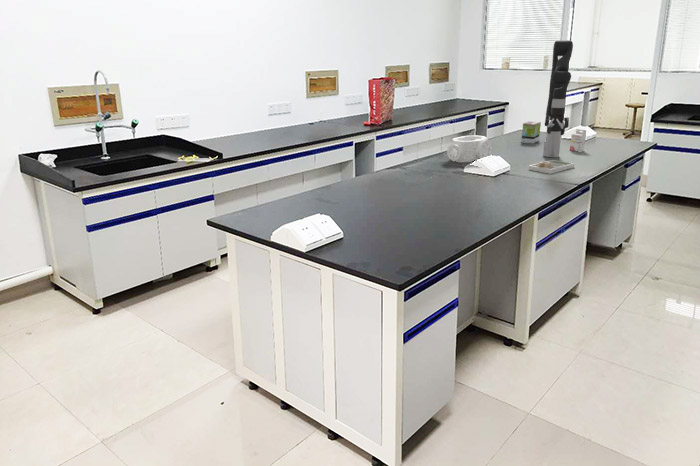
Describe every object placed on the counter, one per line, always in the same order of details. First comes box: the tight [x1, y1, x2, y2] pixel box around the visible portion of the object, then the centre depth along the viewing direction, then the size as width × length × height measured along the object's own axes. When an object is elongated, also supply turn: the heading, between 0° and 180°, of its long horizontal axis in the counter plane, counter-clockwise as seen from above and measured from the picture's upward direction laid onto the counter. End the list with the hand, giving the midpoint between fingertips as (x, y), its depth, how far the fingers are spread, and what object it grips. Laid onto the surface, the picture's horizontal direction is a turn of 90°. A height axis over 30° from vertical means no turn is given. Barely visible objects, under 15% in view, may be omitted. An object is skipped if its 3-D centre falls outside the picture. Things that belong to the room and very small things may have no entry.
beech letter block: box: [537, 160, 551, 169], centre depth 327 cm, size 5×5×5 cm
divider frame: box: [528, 159, 576, 175], centre depth 332 cm, size 15×25×2 cm, turn 127°
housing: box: [446, 134, 493, 163], centre depth 362 cm, size 35×22×14 cm, turn 134°
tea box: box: [520, 121, 542, 144], centre depth 417 cm, size 15×10×15 cm, turn 147°
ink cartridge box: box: [569, 128, 587, 153], centre depth 379 cm, size 9×5×15 cm, turn 34°
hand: (555, 134), depth 324 cm, fingers open, 8 cm apart
